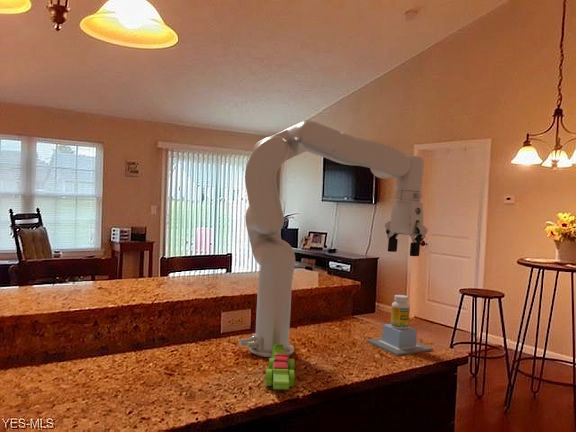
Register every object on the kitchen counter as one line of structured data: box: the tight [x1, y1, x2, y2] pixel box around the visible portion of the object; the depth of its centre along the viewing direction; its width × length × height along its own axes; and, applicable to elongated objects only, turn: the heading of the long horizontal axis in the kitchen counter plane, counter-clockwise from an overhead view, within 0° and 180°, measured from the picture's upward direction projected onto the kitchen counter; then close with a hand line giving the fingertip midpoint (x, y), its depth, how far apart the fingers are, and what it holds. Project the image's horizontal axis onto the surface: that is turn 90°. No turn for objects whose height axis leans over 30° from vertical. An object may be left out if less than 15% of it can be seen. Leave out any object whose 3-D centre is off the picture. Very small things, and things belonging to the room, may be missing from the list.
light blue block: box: [381, 323, 418, 348], centre depth 147 cm, size 6×8×5 cm
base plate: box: [366, 337, 434, 357], centre depth 147 cm, size 14×14×1 cm
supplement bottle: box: [390, 294, 411, 329], centre depth 147 cm, size 5×5×10 cm
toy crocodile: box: [265, 344, 296, 390], centre depth 115 cm, size 20×7×6 cm, turn 179°
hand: (402, 253), depth 146 cm, fingers open, 9 cm apart
